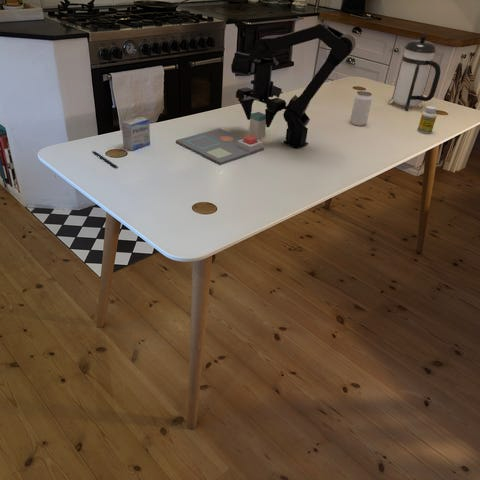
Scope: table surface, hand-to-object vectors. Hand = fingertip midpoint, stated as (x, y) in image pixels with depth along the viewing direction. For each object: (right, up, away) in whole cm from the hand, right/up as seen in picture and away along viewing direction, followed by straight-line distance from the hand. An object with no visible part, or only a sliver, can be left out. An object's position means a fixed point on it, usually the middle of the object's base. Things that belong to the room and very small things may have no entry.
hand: (258, 123), depth 162 cm
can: (+41, +5, +22) cm, 46 cm away
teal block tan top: (0, -4, +3) cm, 5 cm away
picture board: (-13, -9, -7) cm, 18 cm away
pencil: (-48, -17, -22) cm, 55 cm away
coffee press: (+69, +19, +45) cm, 84 cm away
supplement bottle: (+66, +1, +19) cm, 69 cm away
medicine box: (-40, -11, -12) cm, 43 cm away
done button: (-3, -9, -9) cm, 13 cm away
